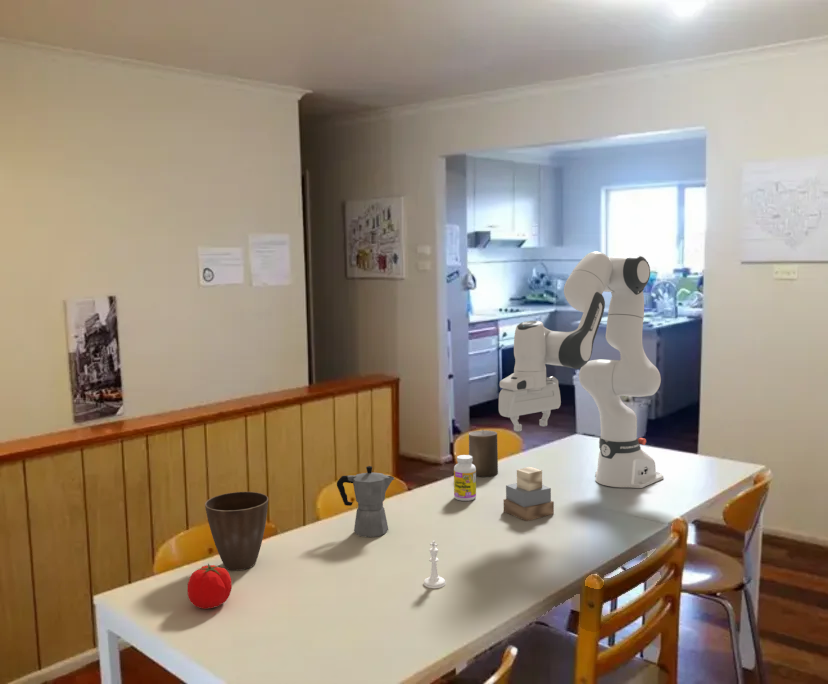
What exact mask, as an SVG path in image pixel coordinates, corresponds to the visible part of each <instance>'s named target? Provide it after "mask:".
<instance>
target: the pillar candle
mask: <svg viewBox="0 0 828 684" xmlns="http://www.w3.org/2000/svg"><path fill="white" fill-rule="evenodd" d="M468 455H470V456H472V459H473V461H472V464H473V465H474V466H475V467H476V477H481V478H482V477H483V478H484V477H492V476H496V475H498V474H499V464H498V463H499V457H498V456H499V455H498V432H497V431H495V430H484V429H481V430H475V431H470V432H468Z"/></svg>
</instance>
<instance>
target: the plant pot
mask: <svg viewBox="0 0 828 684" xmlns="http://www.w3.org/2000/svg"><path fill="white" fill-rule="evenodd" d="M268 504H269V497H268V496H267V495H266V494H264V493H260V492H255V491H236V492H235V491H234V492H229V493H222V494H220V495H215V496H212V497H211V498H208V499H207V500H206V502H205V503H204V508H205V511H206V518H207V521H208V526H209V528H210V532H211V536H212V539H213V542H214V545H215V548H216V550H217V552H218V556H219V557H220V559H221V562H222V564H223V566H224V567H225V569H226V570H231V571H243V570H247V569H250V568H252V567H253V566H255V565H256V563H257V560H258V557H259V553H260V551H261V547H262V542H263V539H264V534H265V529H266V523H267V517H268V516H267V515H268V507H269V506H268Z"/></svg>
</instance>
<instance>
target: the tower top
mask: <svg viewBox="0 0 828 684" xmlns="http://www.w3.org/2000/svg"><path fill="white" fill-rule="evenodd" d="M551 491H552V489H551V487H549V486H547V485H544V484H542V488H539V489H535V490H531V491H527V490H524V489H521V488H519V487H517V482H515V483H510V484H506V485H505V493H506V494H505V495H506V496H505V497H506V498H505V499H508V500H510V501H512V502H514V503H516V504H518V505H520V506H522V507H529V506H534V505H539V504H543V503H548V502H551V501H552V492H551Z"/></svg>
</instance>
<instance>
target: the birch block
mask: <svg viewBox="0 0 828 684" xmlns="http://www.w3.org/2000/svg"><path fill="white" fill-rule="evenodd" d="M516 483H517V487H519V488H521V489H524V490H527V491H531V490H535V489H539V488H542V485H543V470H542V469H538V468H535V467H532V466H527V467H523V468H518V469H516Z"/></svg>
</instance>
